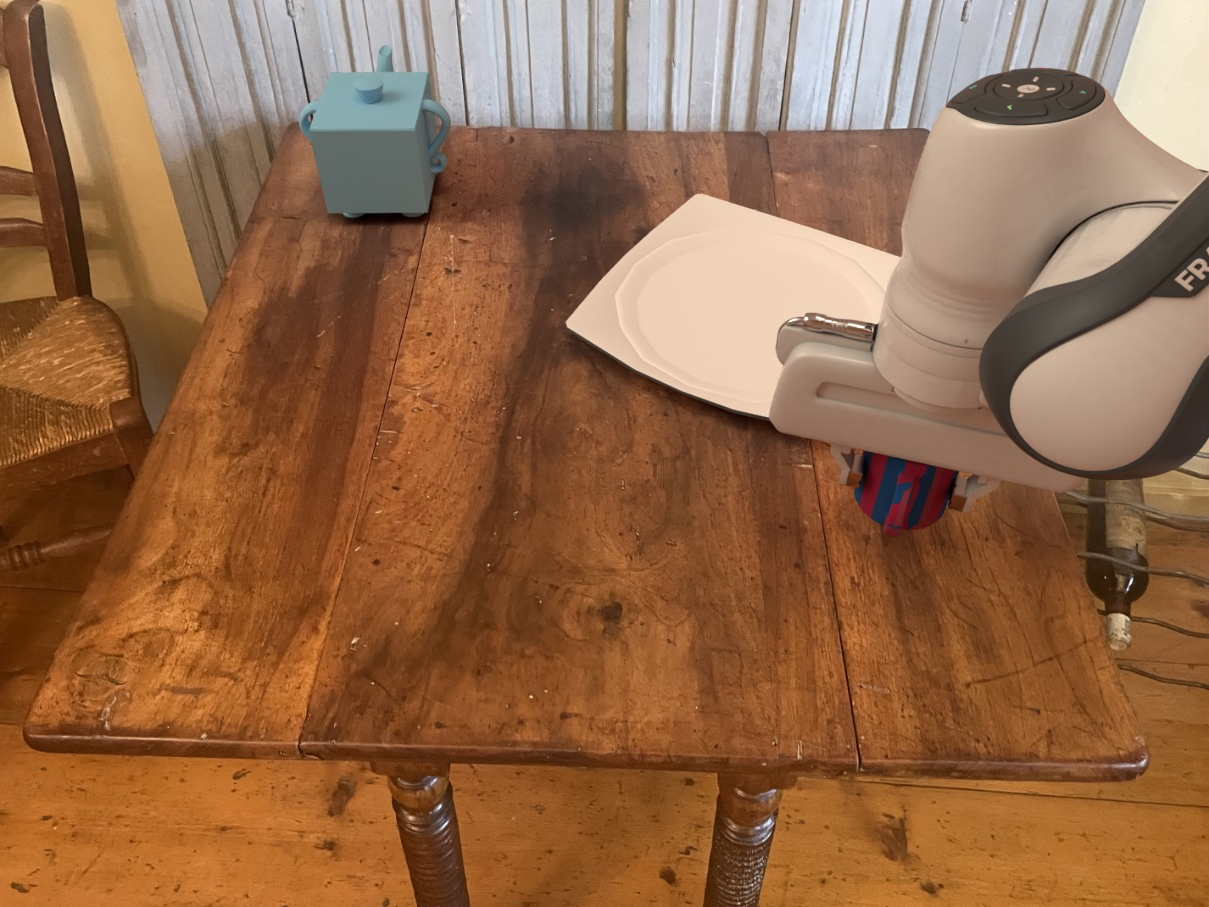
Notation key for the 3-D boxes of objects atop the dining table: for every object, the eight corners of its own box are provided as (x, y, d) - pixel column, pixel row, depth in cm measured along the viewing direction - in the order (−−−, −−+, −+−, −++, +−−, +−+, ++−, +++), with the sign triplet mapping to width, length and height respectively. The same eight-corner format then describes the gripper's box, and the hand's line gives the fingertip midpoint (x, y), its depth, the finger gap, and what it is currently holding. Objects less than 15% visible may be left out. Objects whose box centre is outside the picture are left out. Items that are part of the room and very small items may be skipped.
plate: (835, 471, 80) (841, 448, 78) (543, 350, 90) (542, 328, 88) (948, 289, 97) (955, 266, 95) (690, 204, 107) (692, 183, 105)
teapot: (454, 225, 104) (439, 110, 95) (306, 226, 104) (276, 111, 95) (467, 139, 117) (456, 30, 107) (335, 140, 116) (312, 30, 107)
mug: (956, 482, 74) (980, 416, 69) (918, 577, 68) (941, 512, 63) (869, 452, 76) (886, 387, 71) (825, 542, 70) (840, 476, 65)
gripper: (770, 338, 60) (749, 490, 70) (1131, 409, 55) (1053, 561, 65) (791, 279, 64) (768, 431, 74) (1127, 340, 59) (1055, 493, 69)
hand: (904, 492), depth 70 cm, fingers closed on mug, 6 cm apart
